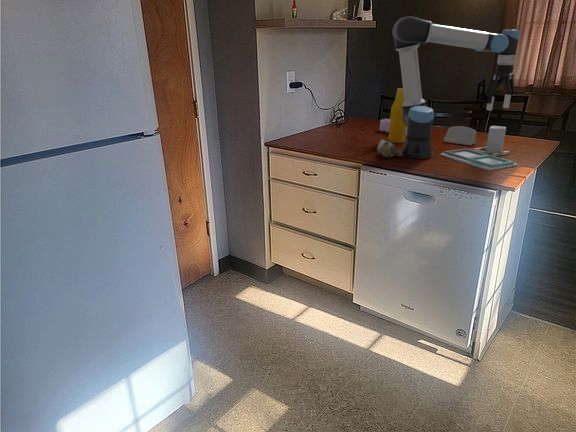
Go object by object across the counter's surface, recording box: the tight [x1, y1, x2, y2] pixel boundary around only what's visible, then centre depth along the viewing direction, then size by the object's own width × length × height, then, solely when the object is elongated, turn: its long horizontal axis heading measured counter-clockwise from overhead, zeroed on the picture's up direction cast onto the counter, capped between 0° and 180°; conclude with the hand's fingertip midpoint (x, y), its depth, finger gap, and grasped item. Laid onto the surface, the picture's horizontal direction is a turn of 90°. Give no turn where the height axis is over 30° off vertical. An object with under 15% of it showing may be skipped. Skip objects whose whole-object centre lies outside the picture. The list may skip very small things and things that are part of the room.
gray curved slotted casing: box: [443, 125, 477, 146], centre depth 244 cm, size 17×5×10 cm, turn 49°
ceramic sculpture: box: [376, 138, 404, 159], centre depth 215 cm, size 11×9×15 cm
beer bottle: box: [387, 87, 406, 144], centre depth 242 cm, size 9×9×29 cm
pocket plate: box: [440, 148, 519, 172], centre depth 209 cm, size 18×30×2 cm, turn 25°
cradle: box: [471, 146, 511, 157], centre depth 222 cm, size 13×12×2 cm
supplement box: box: [485, 125, 507, 153], centre depth 221 cm, size 7×7×13 cm
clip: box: [379, 118, 407, 136], centre depth 271 cm, size 20×12×7 cm, turn 46°
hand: (497, 109), depth 219 cm, fingers open, 13 cm apart
